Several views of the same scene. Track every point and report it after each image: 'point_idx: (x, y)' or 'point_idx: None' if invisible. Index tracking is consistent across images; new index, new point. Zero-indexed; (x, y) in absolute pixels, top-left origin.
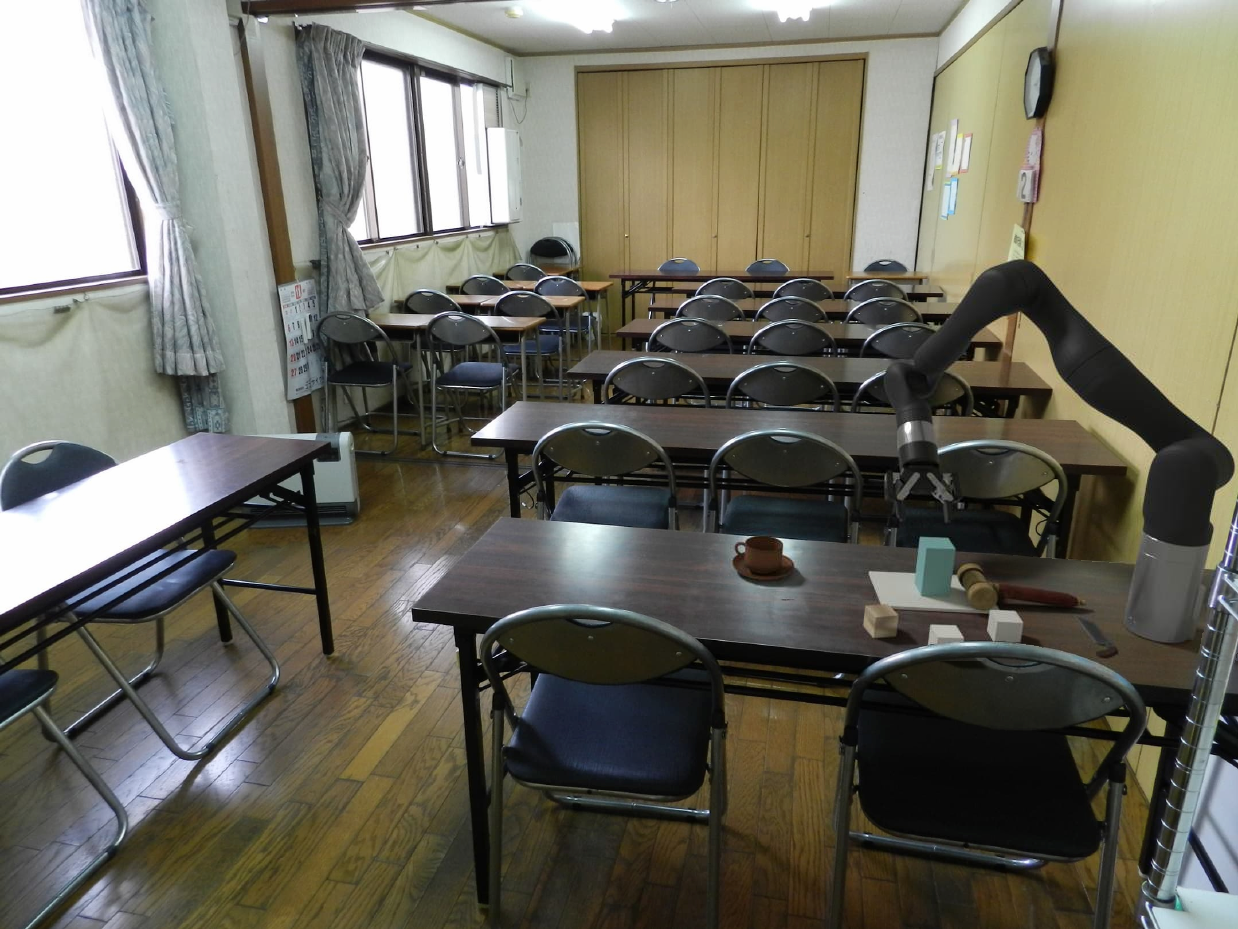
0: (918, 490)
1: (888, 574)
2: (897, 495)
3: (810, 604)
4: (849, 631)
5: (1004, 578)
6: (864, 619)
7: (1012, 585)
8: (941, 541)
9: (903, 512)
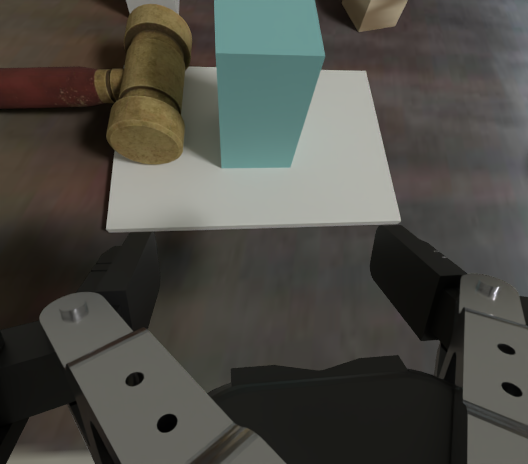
0: (368, 362)
1: (351, 208)
2: (517, 293)
3: (495, 83)
4: (415, 12)
5: (17, 246)
6: (401, 10)
7: (56, 72)
8: (249, 25)
9: (404, 235)
